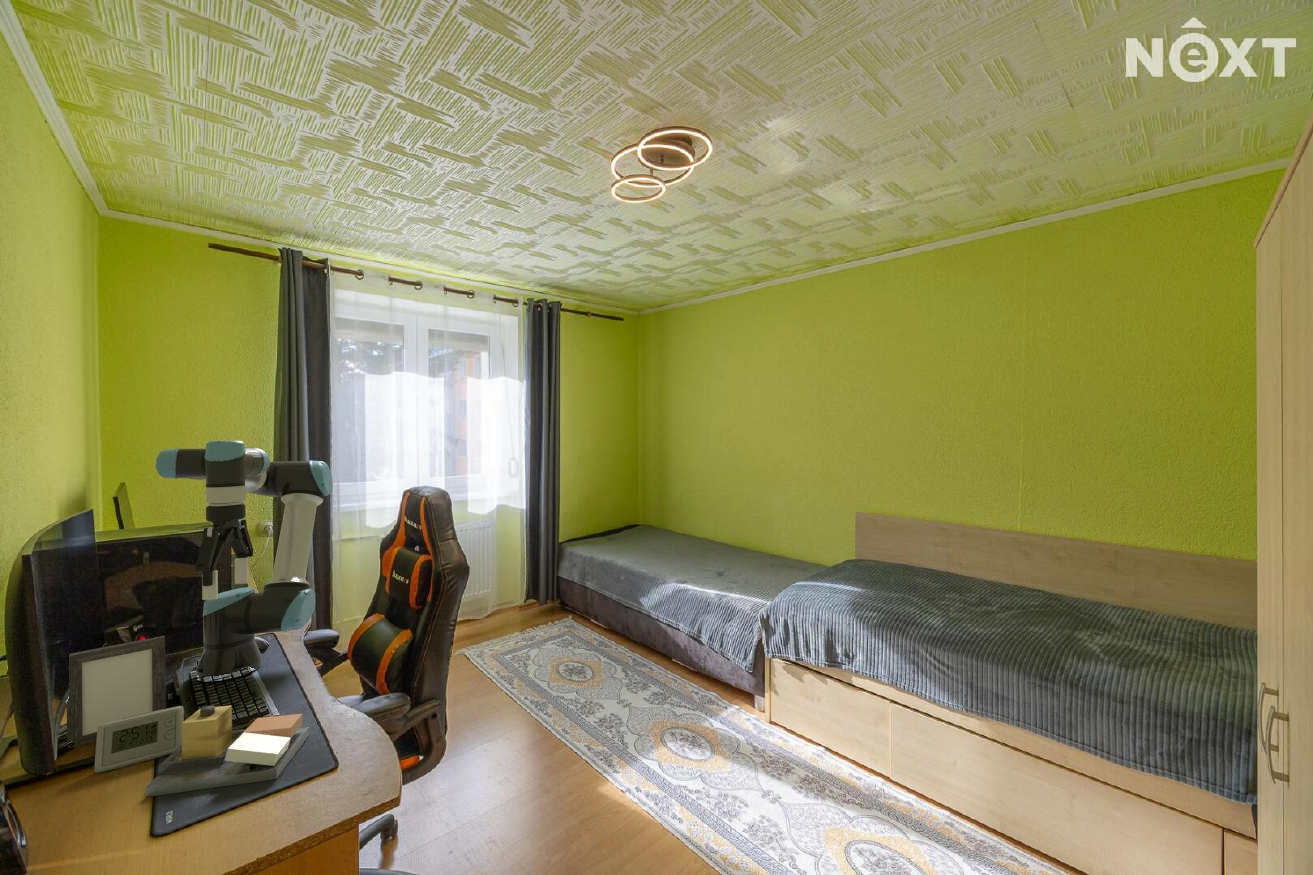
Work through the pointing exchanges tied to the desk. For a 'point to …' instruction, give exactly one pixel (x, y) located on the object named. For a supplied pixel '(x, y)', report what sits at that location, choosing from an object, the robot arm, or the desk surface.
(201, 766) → the panel
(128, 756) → the digital clock
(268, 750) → the rocker plain
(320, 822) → the desk surface
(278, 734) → the orange tan rectangular block
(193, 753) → the tan wooden block
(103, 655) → the picture frame
